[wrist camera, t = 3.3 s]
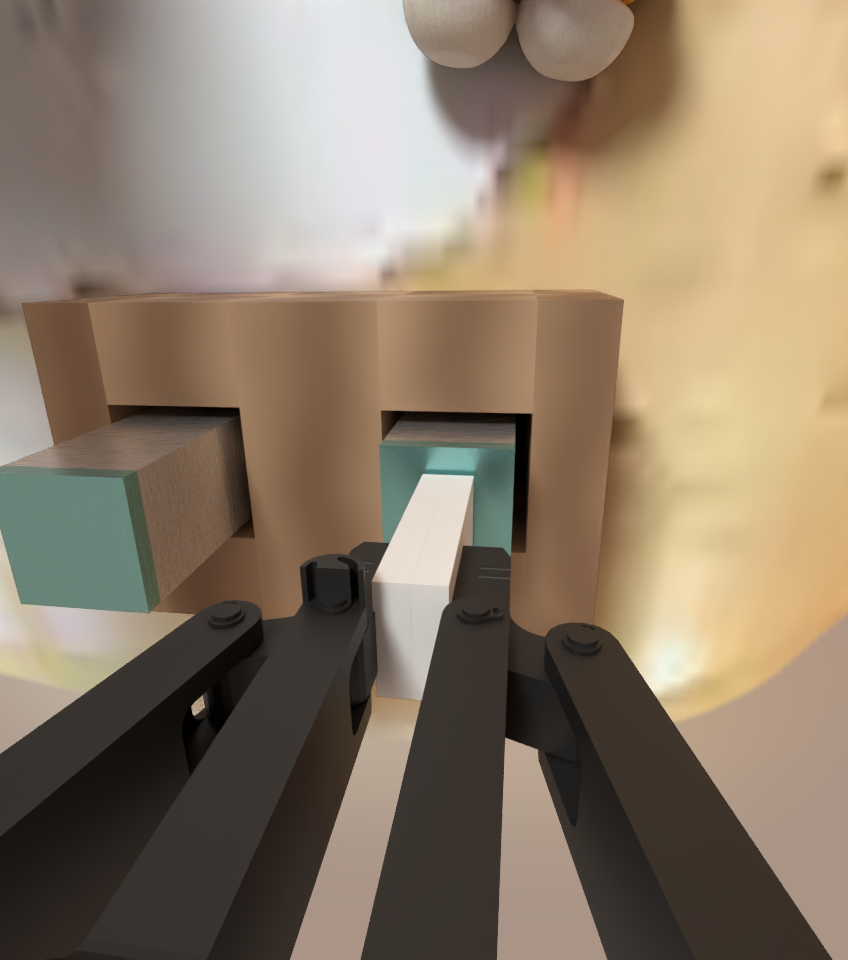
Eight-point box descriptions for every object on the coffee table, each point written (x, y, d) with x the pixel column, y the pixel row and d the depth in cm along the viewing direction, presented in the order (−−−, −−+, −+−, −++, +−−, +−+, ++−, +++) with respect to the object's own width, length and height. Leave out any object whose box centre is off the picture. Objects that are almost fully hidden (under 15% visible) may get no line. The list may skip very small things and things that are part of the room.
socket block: (190, 527, 32) (91, 606, 25) (153, 293, 28) (21, 303, 21) (572, 547, 29) (591, 643, 22) (592, 289, 25) (623, 299, 18)
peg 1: (171, 501, 25) (21, 603, 17) (155, 406, 23) (-15, 472, 16) (263, 506, 24) (148, 613, 17) (252, 408, 23) (122, 478, 15)
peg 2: (421, 481, 27) (383, 565, 19) (420, 392, 25) (378, 445, 18) (512, 485, 26) (510, 573, 19) (515, 393, 25) (514, 449, 17)
